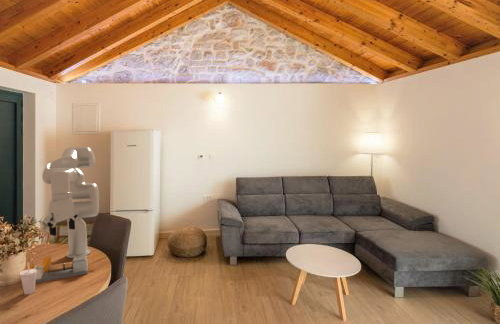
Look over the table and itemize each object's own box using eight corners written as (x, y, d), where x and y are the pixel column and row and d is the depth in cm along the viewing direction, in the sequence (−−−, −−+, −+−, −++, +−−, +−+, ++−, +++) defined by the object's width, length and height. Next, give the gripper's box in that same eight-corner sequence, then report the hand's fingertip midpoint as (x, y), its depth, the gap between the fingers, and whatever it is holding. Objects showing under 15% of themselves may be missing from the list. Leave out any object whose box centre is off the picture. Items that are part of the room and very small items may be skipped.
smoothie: (24, 297, 133) (22, 266, 132) (18, 293, 136) (16, 263, 135) (40, 291, 138) (39, 261, 137) (34, 287, 142) (32, 258, 140)
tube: (48, 271, 153) (48, 264, 153) (84, 265, 160) (84, 258, 160) (47, 274, 150) (47, 266, 149) (84, 268, 157) (84, 261, 156)
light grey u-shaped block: (35, 274, 152) (35, 265, 151) (43, 273, 153) (42, 264, 153) (33, 280, 146) (32, 270, 146) (41, 278, 148) (40, 269, 147)
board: (35, 276, 153) (34, 274, 152) (87, 267, 163) (87, 265, 163) (31, 283, 145) (31, 281, 145) (87, 273, 156) (87, 271, 156)
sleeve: (74, 268, 159) (73, 257, 159) (87, 266, 162) (86, 255, 161) (73, 273, 154) (72, 261, 153) (86, 270, 156) (86, 259, 156)
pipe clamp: (45, 268, 162) (43, 256, 162) (52, 268, 161) (50, 256, 161) (24, 278, 150) (22, 266, 150) (31, 278, 149) (29, 266, 149)
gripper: (71, 192, 151) (73, 226, 153) (37, 199, 135) (39, 237, 137) (82, 193, 149) (84, 227, 151) (49, 200, 133) (51, 238, 134)
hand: (63, 232), depth 144 cm, fingers open, 9 cm apart
